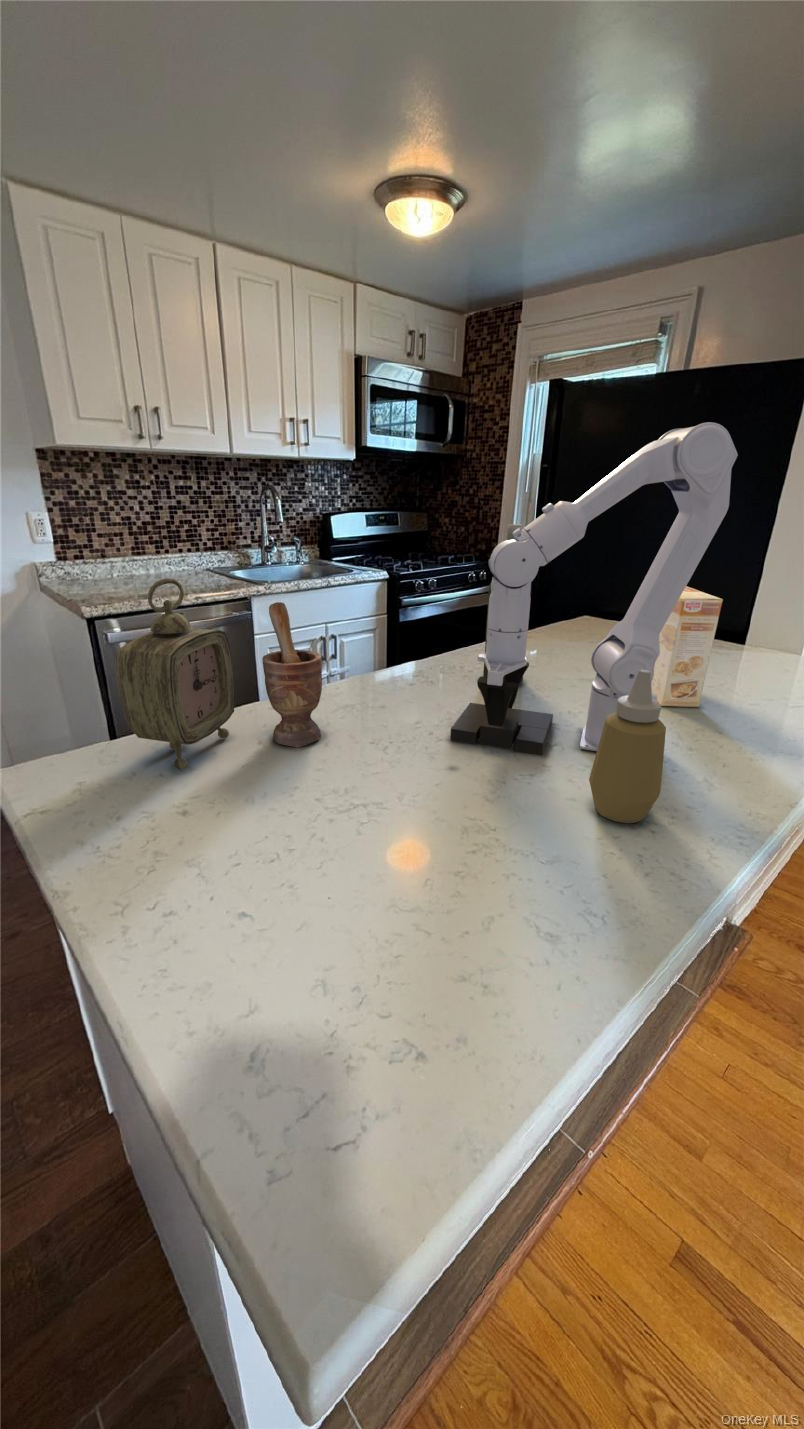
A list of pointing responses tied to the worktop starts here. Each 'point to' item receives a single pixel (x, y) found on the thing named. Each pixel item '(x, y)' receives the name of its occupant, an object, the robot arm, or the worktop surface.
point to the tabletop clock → (176, 679)
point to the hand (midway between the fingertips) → (501, 715)
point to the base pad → (530, 723)
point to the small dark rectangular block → (499, 733)
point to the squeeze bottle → (630, 756)
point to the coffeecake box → (686, 649)
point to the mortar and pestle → (292, 684)
